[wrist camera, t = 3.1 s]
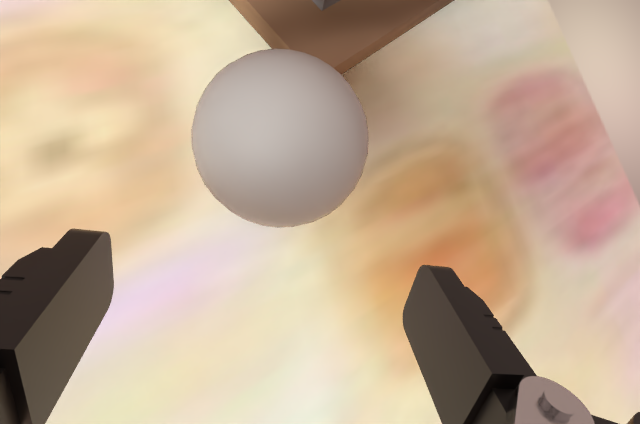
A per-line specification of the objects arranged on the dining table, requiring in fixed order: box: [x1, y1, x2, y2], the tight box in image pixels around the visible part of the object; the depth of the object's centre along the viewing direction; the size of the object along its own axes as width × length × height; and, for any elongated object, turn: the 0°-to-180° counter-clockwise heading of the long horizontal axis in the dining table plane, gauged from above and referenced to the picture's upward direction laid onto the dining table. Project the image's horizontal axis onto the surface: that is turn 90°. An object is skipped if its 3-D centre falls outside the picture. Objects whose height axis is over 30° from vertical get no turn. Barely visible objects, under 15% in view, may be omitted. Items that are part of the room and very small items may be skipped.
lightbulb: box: [192, 49, 368, 228], centre depth 16 cm, size 6×6×11 cm
